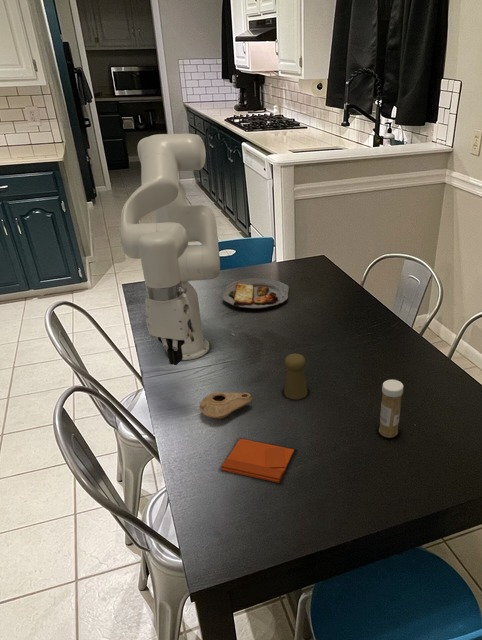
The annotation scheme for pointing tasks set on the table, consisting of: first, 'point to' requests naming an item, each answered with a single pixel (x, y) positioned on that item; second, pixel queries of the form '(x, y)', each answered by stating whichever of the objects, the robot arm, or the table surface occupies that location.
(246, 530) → the table surface
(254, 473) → the rust cloth
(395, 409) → the sprinkles bottle
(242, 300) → the food plate
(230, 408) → the pottery oil lamp
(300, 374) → the cork
